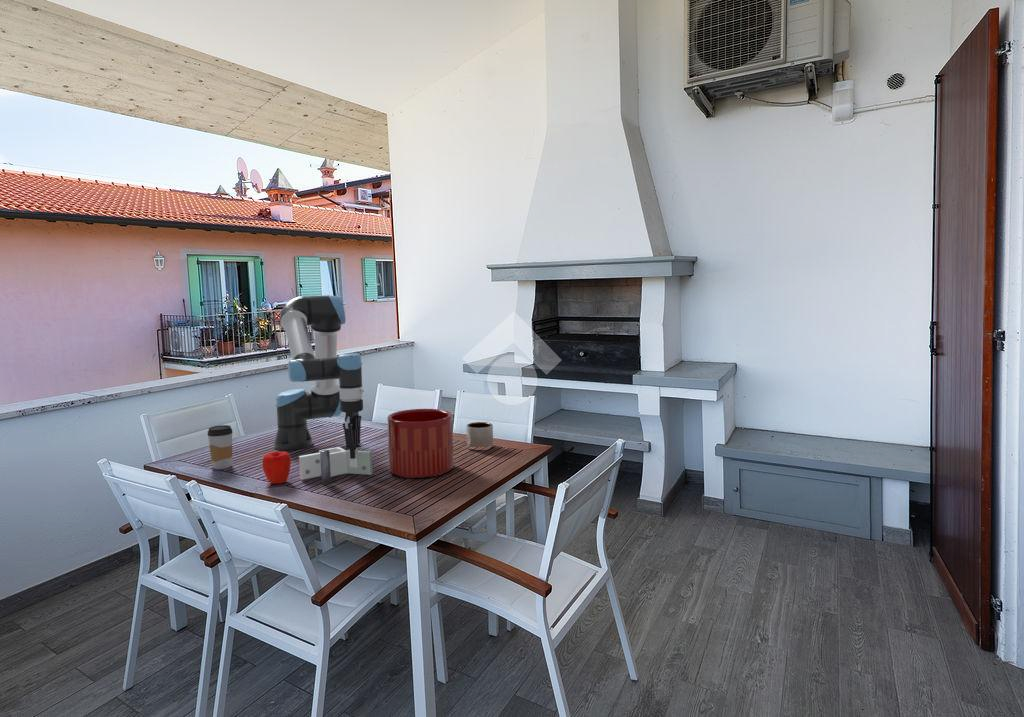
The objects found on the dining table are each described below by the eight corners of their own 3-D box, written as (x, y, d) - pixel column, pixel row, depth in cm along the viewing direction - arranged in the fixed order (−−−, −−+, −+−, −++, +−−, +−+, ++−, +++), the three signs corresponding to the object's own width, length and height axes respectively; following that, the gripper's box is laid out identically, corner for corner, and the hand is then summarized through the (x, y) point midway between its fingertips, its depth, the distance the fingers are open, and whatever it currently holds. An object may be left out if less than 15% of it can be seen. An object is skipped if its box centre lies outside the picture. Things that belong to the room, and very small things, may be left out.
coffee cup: (240, 464, 216) (237, 425, 214) (222, 471, 208) (219, 430, 207) (222, 462, 219) (220, 424, 217) (204, 469, 211) (201, 429, 209)
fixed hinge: (297, 476, 202) (296, 454, 201) (340, 468, 211) (339, 446, 210) (304, 482, 196) (303, 459, 195) (348, 473, 205) (347, 451, 204)
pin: (320, 482, 195) (318, 450, 194) (329, 480, 197) (327, 449, 196) (323, 484, 193) (321, 452, 192) (332, 482, 195) (330, 451, 193)
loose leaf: (349, 471, 205) (348, 450, 204) (372, 473, 203) (371, 451, 202) (346, 473, 203) (345, 451, 202) (370, 475, 201) (369, 452, 201)
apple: (263, 488, 189) (261, 456, 188) (263, 481, 197) (261, 450, 196) (292, 485, 193) (290, 453, 192) (291, 477, 201) (289, 447, 200)
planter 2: (495, 450, 233) (495, 427, 232) (469, 452, 230) (468, 428, 229) (490, 443, 243) (489, 421, 242) (464, 445, 240) (464, 422, 239)
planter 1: (399, 484, 193) (397, 425, 190) (381, 466, 213) (379, 412, 211) (463, 473, 203) (462, 417, 201) (440, 457, 223) (439, 406, 221)
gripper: (356, 403, 189) (359, 472, 192) (368, 395, 202) (370, 461, 204) (333, 403, 189) (337, 472, 192) (346, 395, 202) (349, 461, 205)
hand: (354, 466), depth 198 cm, fingers closed
